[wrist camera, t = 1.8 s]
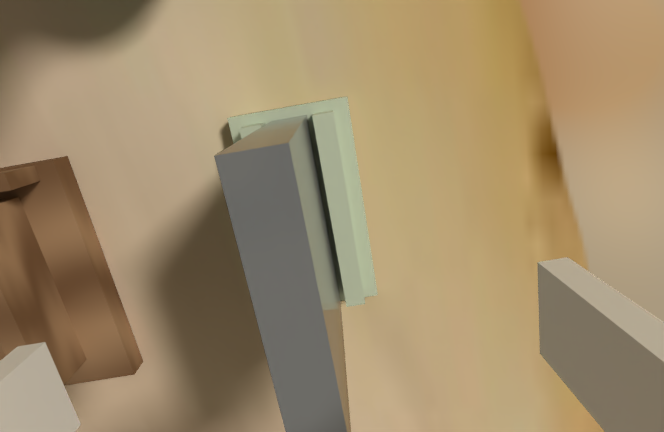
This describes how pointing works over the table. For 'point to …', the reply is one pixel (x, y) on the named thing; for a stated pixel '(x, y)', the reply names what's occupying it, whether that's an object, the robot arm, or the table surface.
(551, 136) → the table surface
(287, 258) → the thick grey slab
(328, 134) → the stand
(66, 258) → the rack
